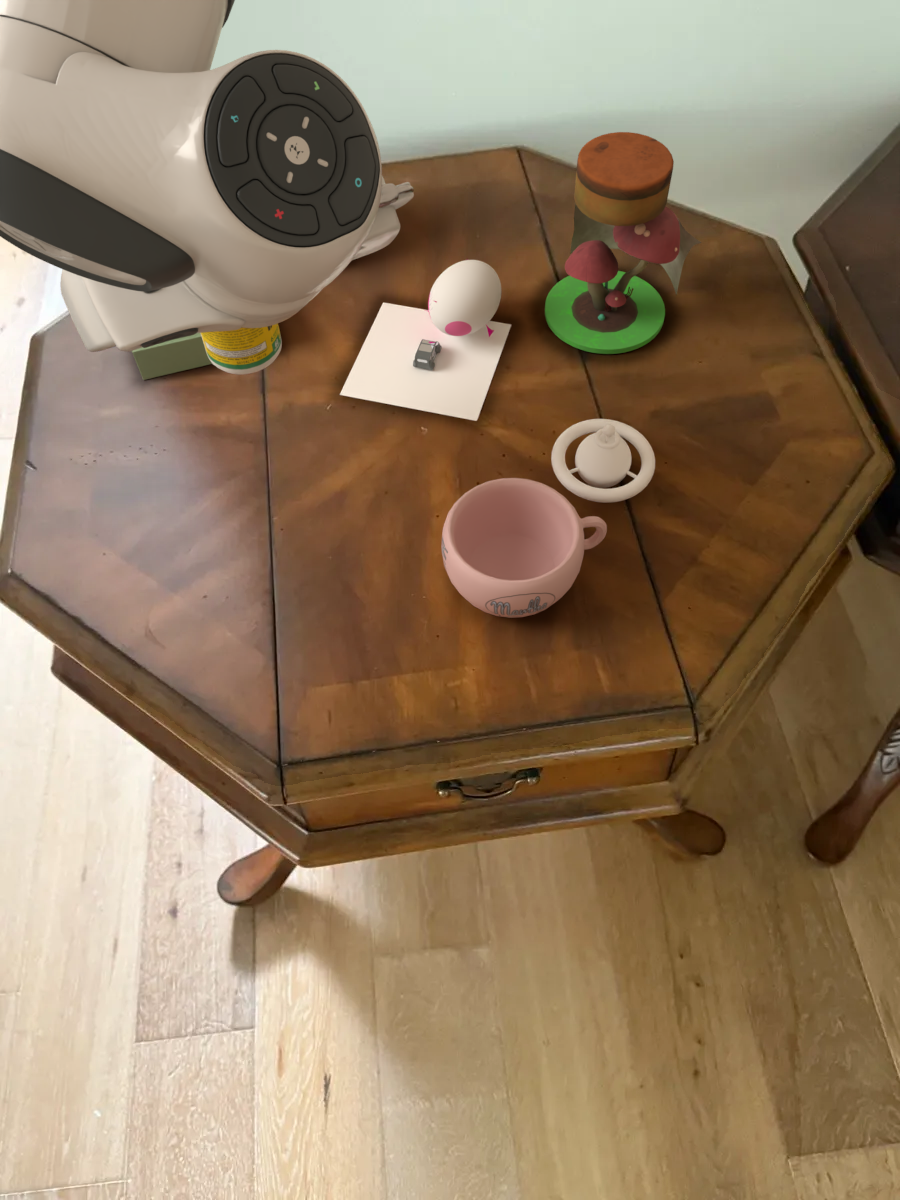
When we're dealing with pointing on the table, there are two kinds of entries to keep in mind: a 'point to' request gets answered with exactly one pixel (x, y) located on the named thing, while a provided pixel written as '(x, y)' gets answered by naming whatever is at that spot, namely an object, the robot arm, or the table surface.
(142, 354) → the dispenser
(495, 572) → the mug
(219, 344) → the supplement bottle
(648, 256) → the mushroom terrarium figurine
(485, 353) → the thin white square mat
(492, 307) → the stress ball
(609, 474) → the ring around a ball
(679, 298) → the table surface
